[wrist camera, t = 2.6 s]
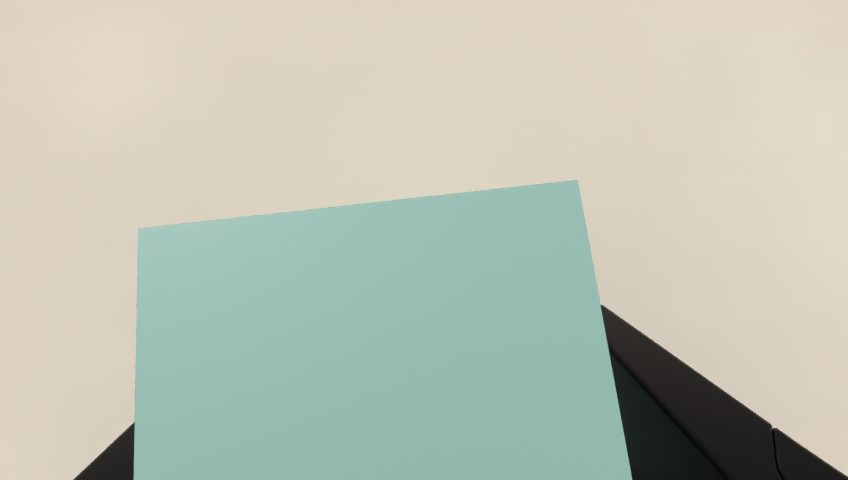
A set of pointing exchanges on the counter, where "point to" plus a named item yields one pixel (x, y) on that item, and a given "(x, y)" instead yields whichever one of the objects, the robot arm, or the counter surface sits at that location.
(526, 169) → the counter surface
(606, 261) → the counter surface
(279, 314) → the mint green tall box
